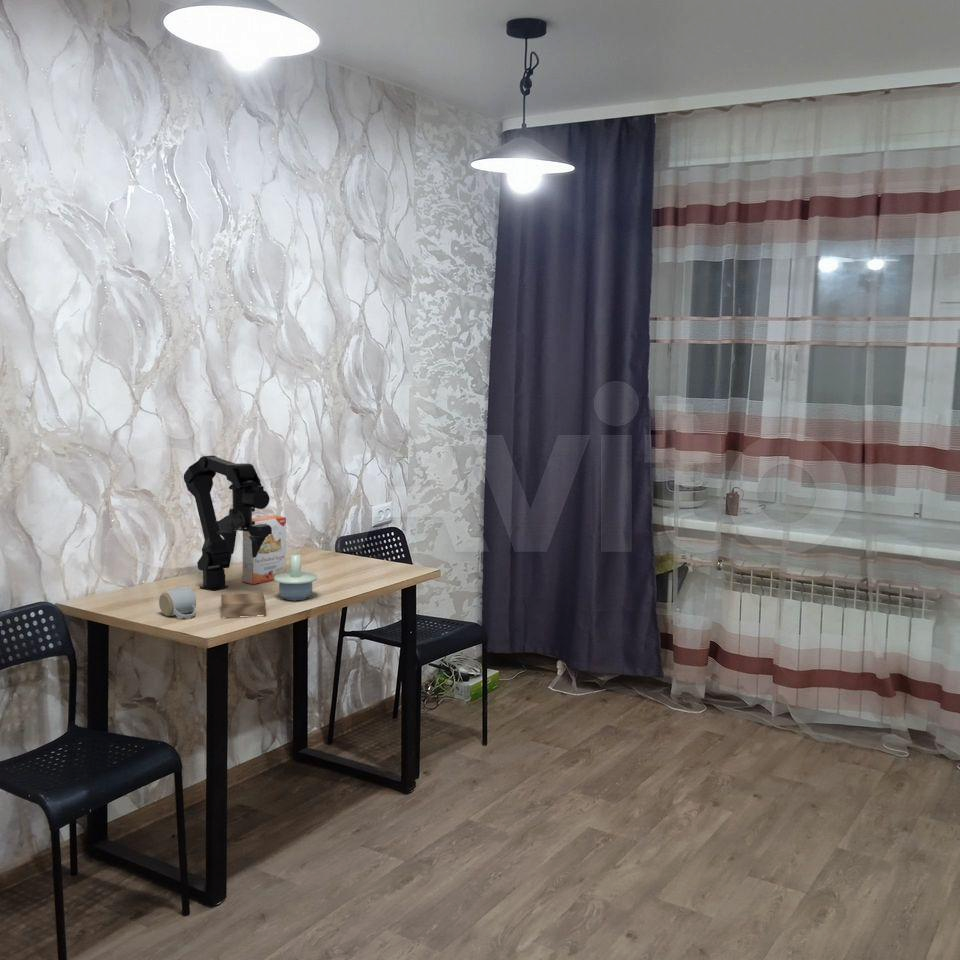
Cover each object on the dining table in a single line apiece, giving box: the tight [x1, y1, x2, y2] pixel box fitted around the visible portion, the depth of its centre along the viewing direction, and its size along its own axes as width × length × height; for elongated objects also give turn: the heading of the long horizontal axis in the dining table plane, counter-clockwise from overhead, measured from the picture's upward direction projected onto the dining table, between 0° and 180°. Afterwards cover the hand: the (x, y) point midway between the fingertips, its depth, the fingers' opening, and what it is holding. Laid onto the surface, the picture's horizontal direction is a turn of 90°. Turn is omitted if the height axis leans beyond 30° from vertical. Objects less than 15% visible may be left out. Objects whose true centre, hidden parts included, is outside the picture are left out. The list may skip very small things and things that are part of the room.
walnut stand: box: [220, 592, 267, 618], centre depth 283 cm, size 12×12×4 cm
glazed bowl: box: [278, 582, 313, 601], centre depth 301 cm, size 10×10×6 cm
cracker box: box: [242, 515, 287, 585], centre depth 322 cm, size 14×6×21 cm, turn 143°
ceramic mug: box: [158, 585, 197, 619], centre depth 278 cm, size 11×8×8 cm
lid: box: [273, 553, 318, 584], centre depth 300 cm, size 13×13×8 cm
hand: (242, 555), depth 299 cm, fingers open, 9 cm apart
